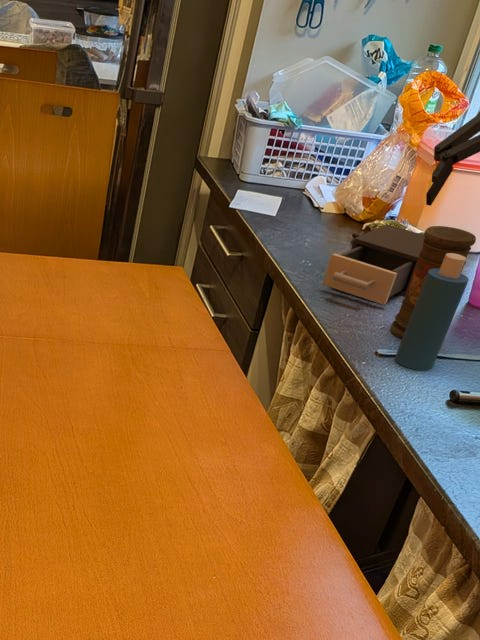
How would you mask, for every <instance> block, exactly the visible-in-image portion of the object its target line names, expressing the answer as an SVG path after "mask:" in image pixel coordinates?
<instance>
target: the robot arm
mask: <svg viewBox="0 0 480 640" xmlns="http://www.w3.org/2000/svg"><path fill="white" fill-rule="evenodd" d="M479 133H480V110H479V111H478V112H477V114H476V115H474V117H472V118H471V119H470V120H468V121H467V122H466V123H464V124H463V125H462V126H460V127H459V128H457V129H456V130H455V131H454V132H452V133H451V134H449V135H448V136H447V137H446V138H445V137H444V139H443V140H442V141H440V142H439V143H437V144H436V145H434V149H433V160H434V162H438V163H437V165H436V166H435V168H434V170H433V172H432V173H431V183H432V184H431V185H430V187H429V188H428V190H427V192H426V195H425V206H429V207H430V206H432V205H433V203H434V202H435V200H436V198H437V197H438V195H439V193H440V192H441V190H442V188H443V187H444V185H445V184H446V182H447V181H448V179H449V177H450V176H451V174H452V172H453V170H454V169H453V168H454V165H456V164H458V163H460V162H462V161H464V160H466V159H468V158H470V157H472V156H475V155H477V154H478V153H480V134H479Z"/></svg>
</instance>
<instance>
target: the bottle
mask: <svg viewBox="0 0 480 640" xmlns="http://www.w3.org/2000/svg"><path fill="white" fill-rule="evenodd" d="M465 261H466V262H467V258H466V257H464V256H462V255H459V254H454V253H447V254H446V255H445V258H444V260H443V263H442V265H441V268H440V269H438V268H436V269H430V270H429V271H428V273H427V276H426V278H425V281H424V284H423V286H422V289H421V291H420V294H419V297H418V299H417V302H416V304H415V307H414V310H413V312H412V315H411V317H410V320H409V323H408V325H407V328H406V330H405V333H404V336H403V338H402V339H401V341H400V343H399V346H398V349H397V352H396V354H395V356H394V360H395V362H396V363H397V364H399V363H400V364H399V365H400V366H402V365H403V366H402V367H405V366H406V367H405V368H407V367H409V368H408V369H410V368H412V369H411V370H415V369H418V370H417V371H430V370H432V369H433V368H432V367H434V365H435V363H436V360H437V358H438V355H439V353H440V350H441V348H442V346H443V343H444V341H445V339H446V336H447V334H448V331H449V329H450V327H451V324H452V321H453V320H454V317H455V315H456V312H457V311H458V307H459V305H460V303H461V301H462V297H463V296H464V292H465V290H466V289H467V286H468V283H469V281H470V279H469V277H468V276H466V274H463V273H462V272H463V270H462V268H463V269H464V267H465V265H464V263H465ZM463 266H464V267H463ZM461 271H462V272H461ZM431 368H432V369H431ZM429 369H430V370H429Z"/></svg>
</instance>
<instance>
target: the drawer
mask: <svg viewBox="0 0 480 640" xmlns="http://www.w3.org/2000/svg"><path fill="white" fill-rule="evenodd" d="M415 263H416V262H415V261H412V260H408V259H405V258H402V257H398V256H395V255H392V254H389V253H385V252H382V251H379V250H375V249H372V248H369V247H366V246H362V245H361V246H359V247H356V248H354V249H352V250H351V249H350V250H348V251H347V250H346V251H345V252H342V253H341V254H338V253H334V252H333V253H332V254H331V257H330V259H329V262H328V266H327V269H326V272H325V275H324V278H323V281H322V285H323V286H326V287H328V288H332V289H335V290H338V291H340V292H344V293H347V294H350V295H353V296H356V297H359V298H363V299H365V300H368V301H370V302H373V303H377V304H380V305H383V306H384V305H386V304H387V303H388V300H389V298H390V297H393V296H394V295H397V294H396V293H398V292H399V291H401V290H403V289H405V288H406V287H407V285H408V282H409V279H410V277H411V274H412V271H413V269H414V266H415Z"/></svg>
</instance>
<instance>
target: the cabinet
mask: <svg viewBox="0 0 480 640" xmlns="http://www.w3.org/2000/svg"><path fill="white" fill-rule="evenodd" d="M424 239H425V236H424V233H423V234H422V233H419V232H415V231H412V230H408V229H405V228H402V227H398V226H394V225H391V224H384V225H382V226H379V227H377V228H375V229H372V230H370V231H368V232H366V233H364V234H361V235H359V236H357V237H354V238H353V241H352V244H351V248H350V250H352V249H354V248H356V247H359V246H361V245H362V246H366V247H369V248H372V249H375V250H379V251H382V252H385V253H389V254H392V255H395V256H398V257H402V258H405V259H408V260H412V261H415V262H416V263H417V261H418V258H419V253H420V252H421V250H422V248H423V240H424ZM416 263H415V266H416ZM415 266H414V269H415ZM414 269H413V271H412V274H411V277H410V279H409V282H408V285H407V287H406V288H405V289H403V290H401V291H399V292H398V293H396V294H395V295H398V296H402V297H404V298H405V295H406V292H407V290H408V287H409V284H410V281H411V278H412V275H413V272H414Z"/></svg>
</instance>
